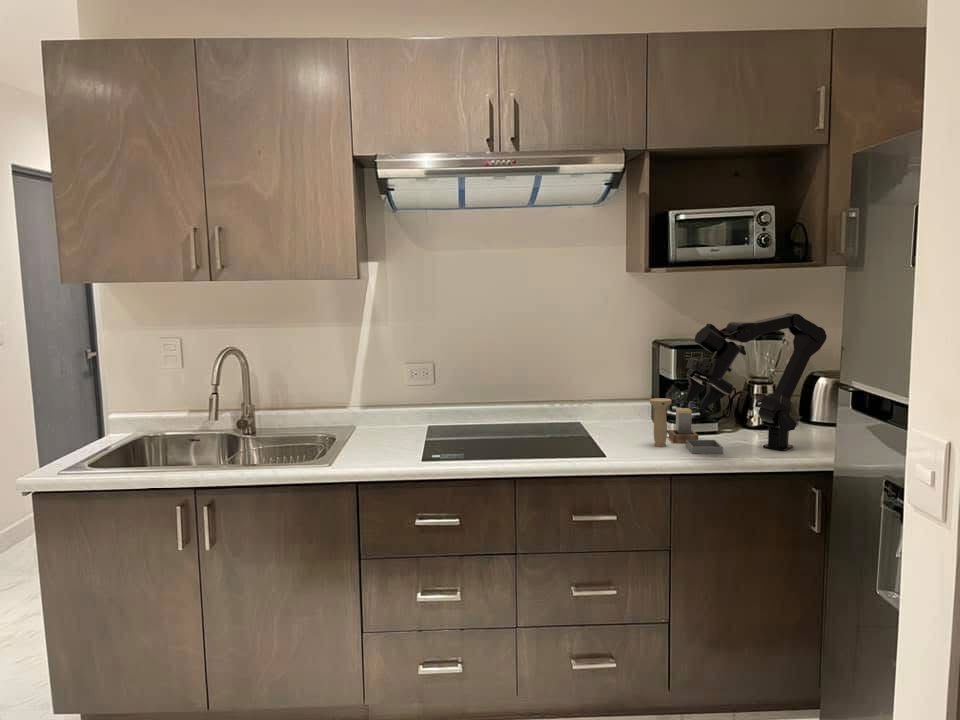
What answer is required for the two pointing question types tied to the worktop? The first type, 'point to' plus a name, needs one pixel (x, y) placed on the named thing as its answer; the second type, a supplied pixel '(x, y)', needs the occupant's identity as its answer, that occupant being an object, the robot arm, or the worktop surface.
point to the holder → (681, 437)
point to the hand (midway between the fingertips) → (693, 405)
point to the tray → (704, 447)
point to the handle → (660, 420)
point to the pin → (683, 421)
